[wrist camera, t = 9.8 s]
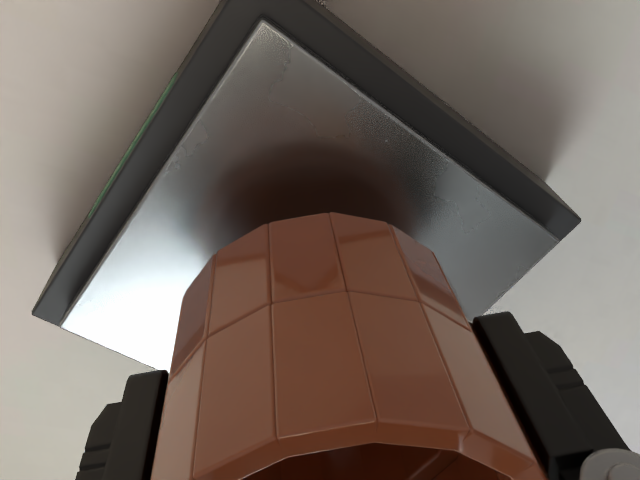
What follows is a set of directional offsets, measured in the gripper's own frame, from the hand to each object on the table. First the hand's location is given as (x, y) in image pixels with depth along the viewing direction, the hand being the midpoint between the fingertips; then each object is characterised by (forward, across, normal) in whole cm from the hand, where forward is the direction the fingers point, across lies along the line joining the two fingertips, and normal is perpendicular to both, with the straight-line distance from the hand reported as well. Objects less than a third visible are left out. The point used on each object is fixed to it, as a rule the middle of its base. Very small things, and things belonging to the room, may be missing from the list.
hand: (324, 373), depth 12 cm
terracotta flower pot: (+2, 0, 0) cm, 2 cm away
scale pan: (+4, 0, 0) cm, 4 cm away
